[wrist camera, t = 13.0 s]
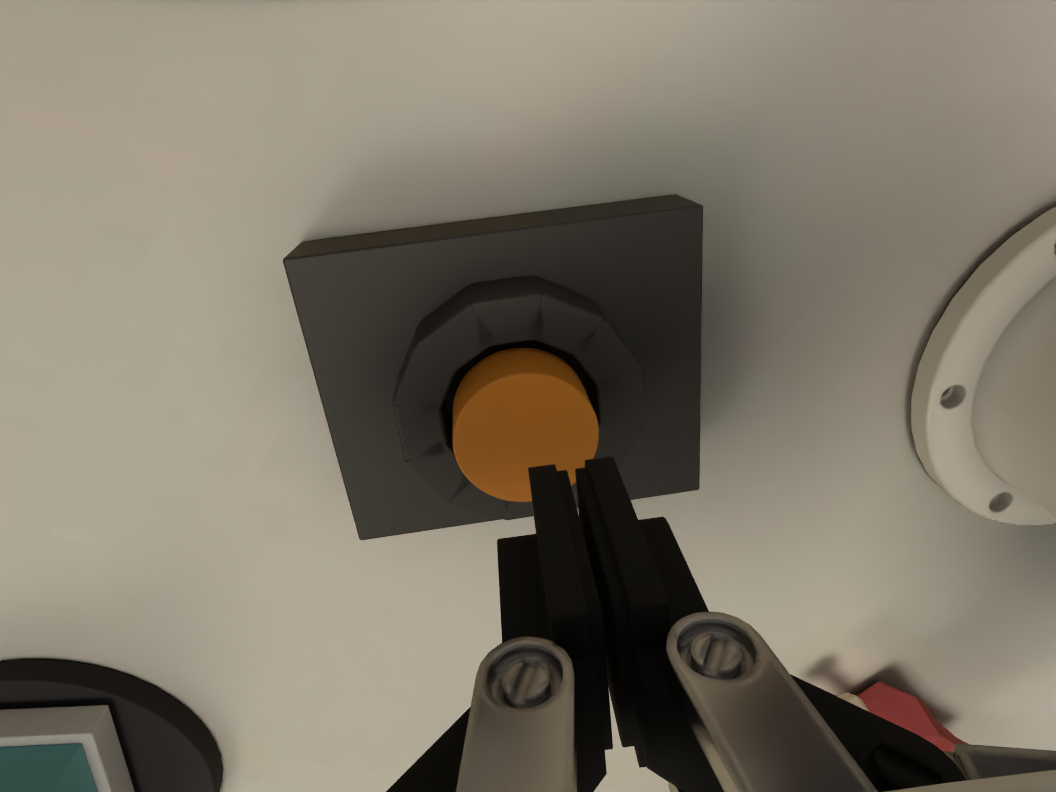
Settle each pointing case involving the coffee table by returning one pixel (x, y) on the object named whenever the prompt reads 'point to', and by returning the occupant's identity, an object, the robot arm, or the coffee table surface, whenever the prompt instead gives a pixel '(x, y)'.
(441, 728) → the coffee table surface
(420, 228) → the switch block
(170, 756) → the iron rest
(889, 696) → the meat
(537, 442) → the button
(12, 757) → the iron
